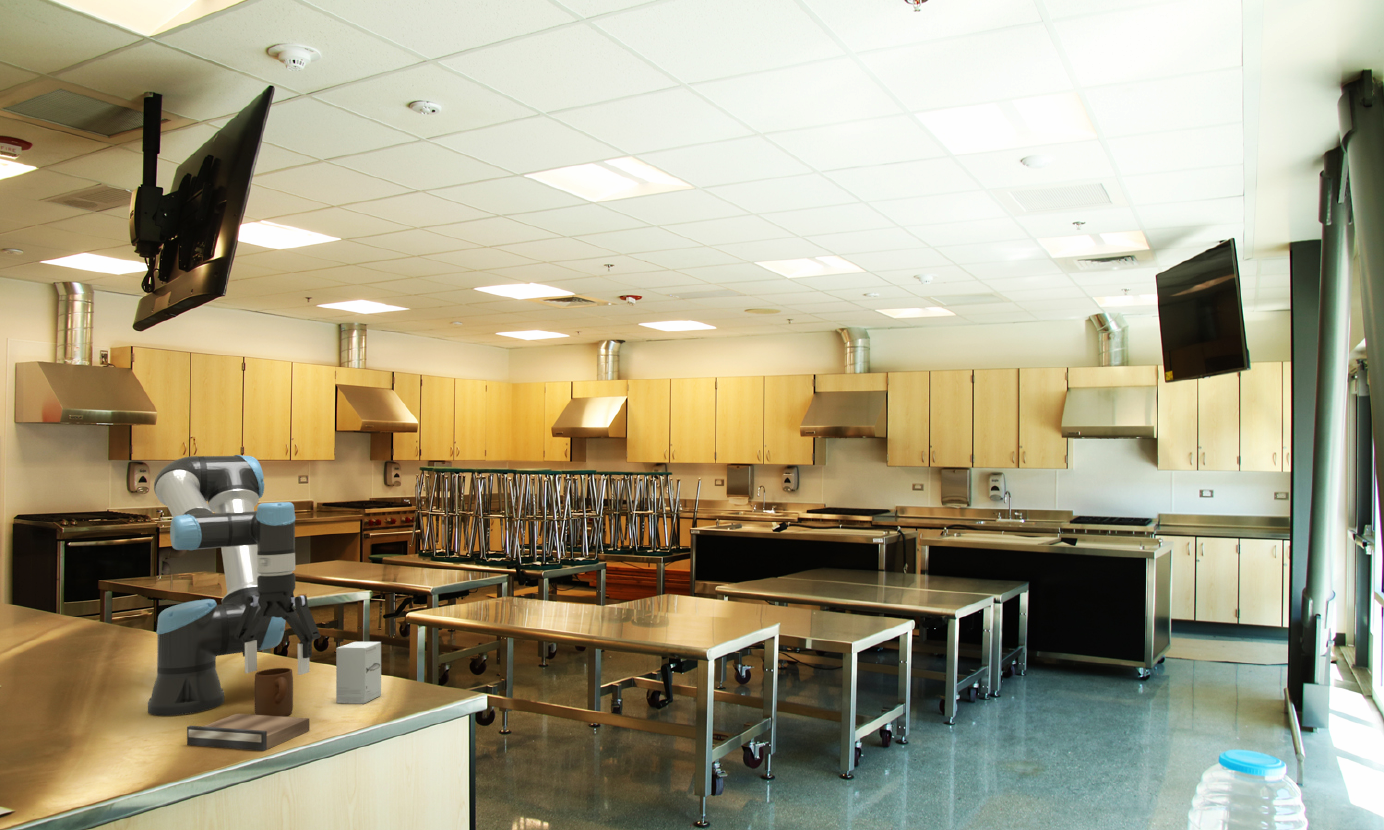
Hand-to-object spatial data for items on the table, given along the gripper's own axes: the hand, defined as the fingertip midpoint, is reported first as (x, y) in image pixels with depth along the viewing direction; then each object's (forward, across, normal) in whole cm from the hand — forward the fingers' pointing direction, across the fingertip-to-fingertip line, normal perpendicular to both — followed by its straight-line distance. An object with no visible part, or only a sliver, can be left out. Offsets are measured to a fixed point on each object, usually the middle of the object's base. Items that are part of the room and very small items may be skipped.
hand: (277, 672), depth 193 cm
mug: (+10, 0, 0) cm, 10 cm away
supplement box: (+10, +8, +16) cm, 21 cm away
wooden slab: (+10, +4, -13) cm, 17 cm away
